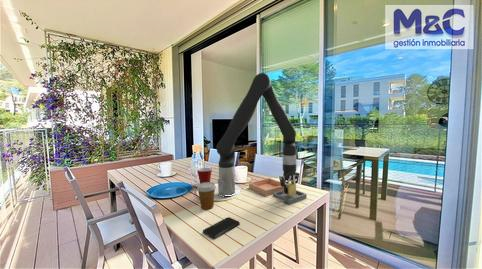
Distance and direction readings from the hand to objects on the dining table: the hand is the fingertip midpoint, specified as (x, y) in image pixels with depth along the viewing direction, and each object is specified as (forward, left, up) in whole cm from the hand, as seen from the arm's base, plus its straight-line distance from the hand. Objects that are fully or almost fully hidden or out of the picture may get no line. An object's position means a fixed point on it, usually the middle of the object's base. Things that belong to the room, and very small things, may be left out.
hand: (289, 192), depth 115 cm
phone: (-46, -6, -4) cm, 46 cm away
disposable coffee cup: (-43, +16, -3) cm, 46 cm away
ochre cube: (0, 0, -1) cm, 1 cm away
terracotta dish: (-2, +16, -3) cm, 17 cm away
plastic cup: (-31, +47, -3) cm, 57 cm away
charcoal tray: (0, 0, -3) cm, 3 cm away
